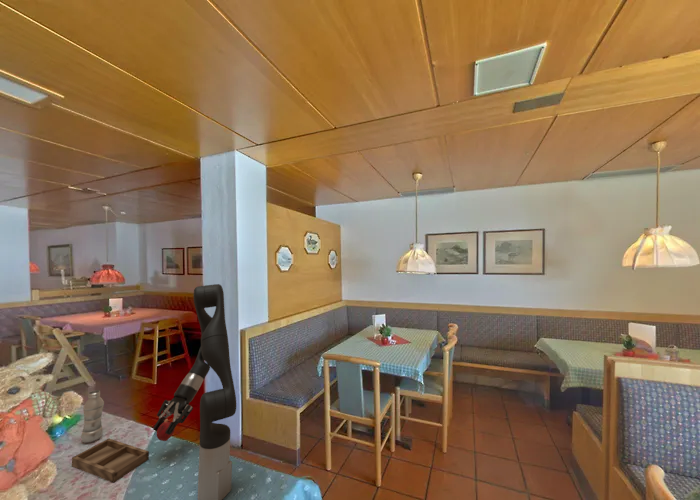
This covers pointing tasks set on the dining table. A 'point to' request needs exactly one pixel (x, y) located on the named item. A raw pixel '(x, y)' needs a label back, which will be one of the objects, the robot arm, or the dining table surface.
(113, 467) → the walnut tray
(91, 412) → the plastic bottle
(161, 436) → the pomegranate
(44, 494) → the dining table surface
